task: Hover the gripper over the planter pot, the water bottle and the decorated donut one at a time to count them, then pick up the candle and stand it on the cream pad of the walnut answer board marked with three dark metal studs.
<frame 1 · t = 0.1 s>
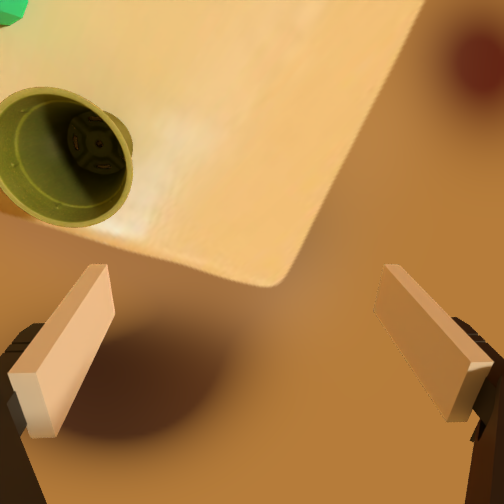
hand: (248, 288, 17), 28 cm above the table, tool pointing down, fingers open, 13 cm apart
plant pot: (103, 143, 40), on the table
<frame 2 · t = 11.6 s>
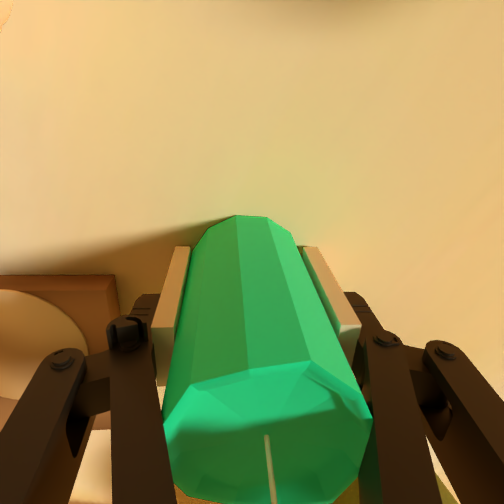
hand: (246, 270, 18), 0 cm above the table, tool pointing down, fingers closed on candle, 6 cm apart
candle: (246, 264, 19), on the table, touching gripper
plant pot: (348, 431, 26), on the table
when the fingers open (3 cm above the table, at t = 18.7 s): candle drops 1 cm, resting on answer board.
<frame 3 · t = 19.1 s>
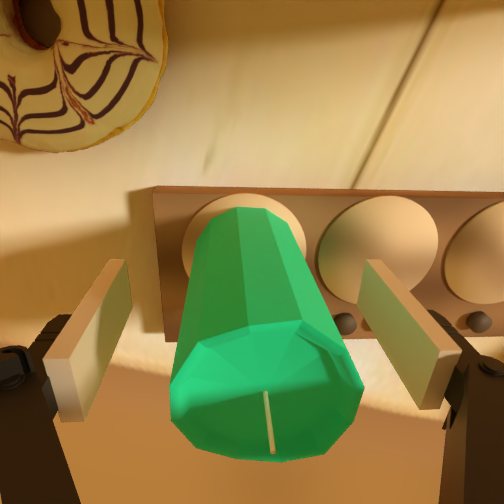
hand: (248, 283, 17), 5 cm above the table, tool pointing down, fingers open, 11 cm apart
decorated donut: (60, 24, 16), on the table
candle: (246, 253, 20), point 2 cm above the table, touching answer board
answer board: (363, 263, 23), on the table
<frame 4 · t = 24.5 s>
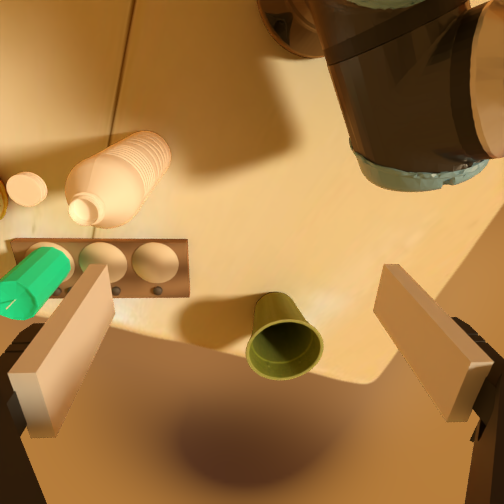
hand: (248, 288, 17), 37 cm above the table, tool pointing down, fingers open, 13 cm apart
water bottle: (140, 150, 49), on the table
candle: (51, 263, 53), point 2 cm above the table, touching answer board
plant pot: (275, 307, 62), on the table
answer board: (107, 266, 56), on the table
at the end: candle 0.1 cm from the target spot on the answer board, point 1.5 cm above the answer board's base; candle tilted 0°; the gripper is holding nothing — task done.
